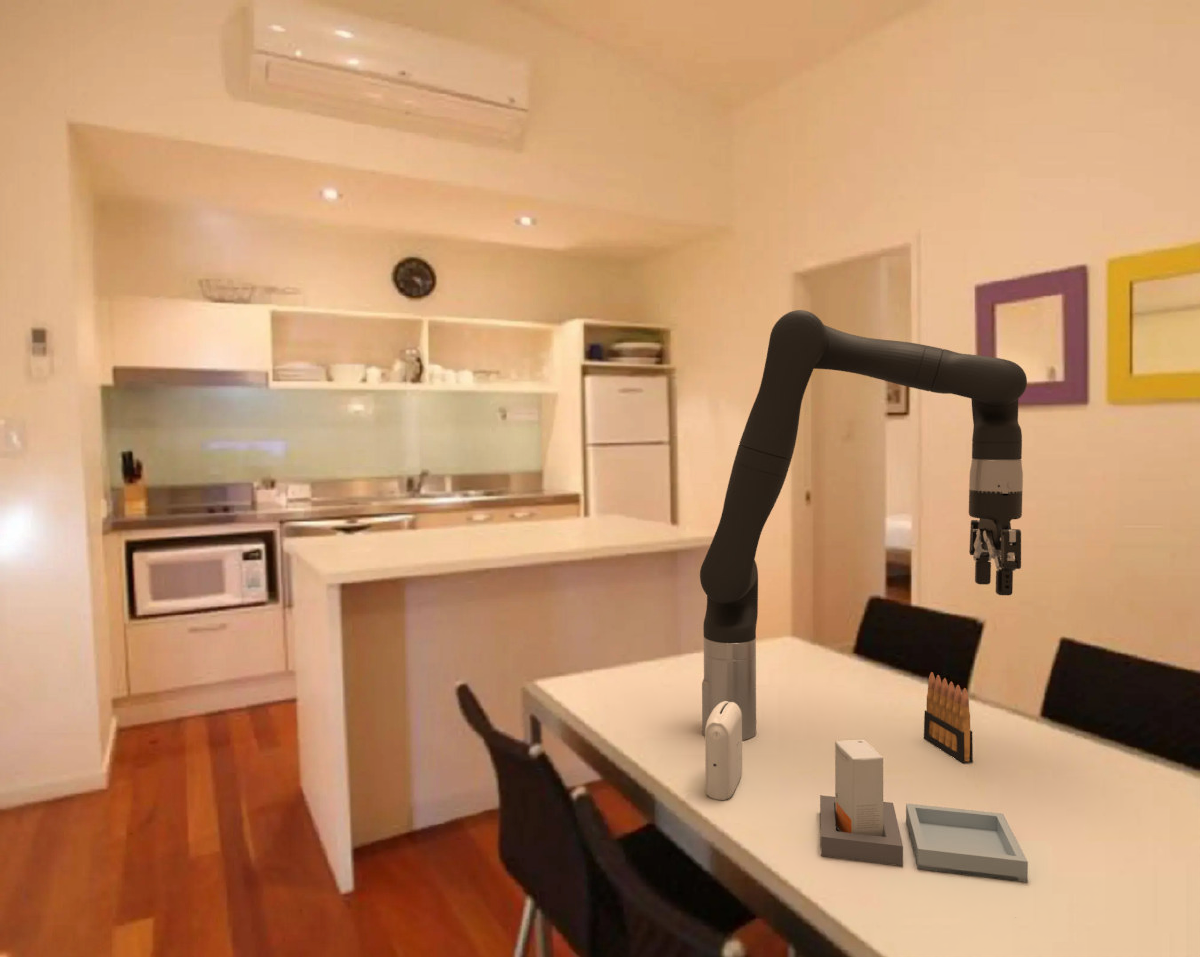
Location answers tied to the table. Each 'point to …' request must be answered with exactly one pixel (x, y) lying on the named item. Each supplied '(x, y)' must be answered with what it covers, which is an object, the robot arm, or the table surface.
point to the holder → (860, 838)
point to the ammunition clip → (948, 719)
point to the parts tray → (965, 842)
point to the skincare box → (858, 788)
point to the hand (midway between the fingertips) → (992, 589)
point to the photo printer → (723, 750)
